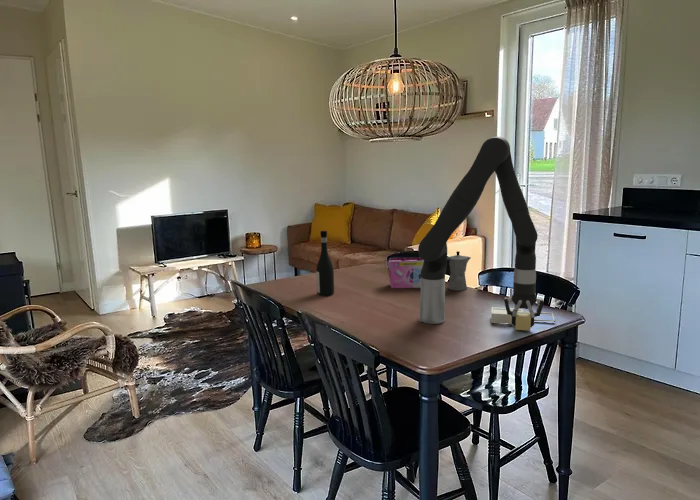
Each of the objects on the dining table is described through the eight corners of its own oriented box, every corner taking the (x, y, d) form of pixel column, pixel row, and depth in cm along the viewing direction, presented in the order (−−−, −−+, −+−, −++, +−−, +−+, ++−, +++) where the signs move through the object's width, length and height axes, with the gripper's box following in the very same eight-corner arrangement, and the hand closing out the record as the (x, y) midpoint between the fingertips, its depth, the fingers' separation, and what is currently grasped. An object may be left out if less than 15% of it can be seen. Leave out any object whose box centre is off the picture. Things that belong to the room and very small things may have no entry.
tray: (524, 321, 194) (524, 318, 194) (522, 313, 204) (522, 311, 203) (555, 323, 191) (555, 320, 191) (552, 315, 201) (552, 312, 200)
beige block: (515, 329, 183) (516, 316, 182) (515, 324, 188) (515, 311, 187) (530, 330, 181) (530, 316, 180) (529, 325, 187) (529, 311, 186)
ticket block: (491, 325, 191) (491, 314, 190) (491, 316, 201) (491, 306, 200) (523, 327, 188) (524, 316, 187) (522, 318, 198) (522, 308, 197)
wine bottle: (314, 296, 236) (312, 232, 231) (320, 291, 244) (317, 229, 238) (331, 297, 234) (329, 232, 229) (336, 292, 242) (334, 229, 236)
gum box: (388, 288, 247) (388, 261, 244) (387, 284, 254) (386, 258, 252) (438, 287, 247) (438, 259, 245) (434, 283, 255) (435, 256, 252)
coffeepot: (465, 284, 250) (466, 248, 247) (474, 289, 241) (475, 252, 238) (436, 287, 247) (436, 250, 243) (444, 292, 238) (445, 254, 234)
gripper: (503, 282, 180) (502, 328, 183) (547, 284, 176) (544, 331, 179) (503, 277, 187) (501, 321, 190) (545, 279, 183) (542, 324, 186)
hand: (522, 326), depth 185 cm, fingers closed on beige block, 5 cm apart
